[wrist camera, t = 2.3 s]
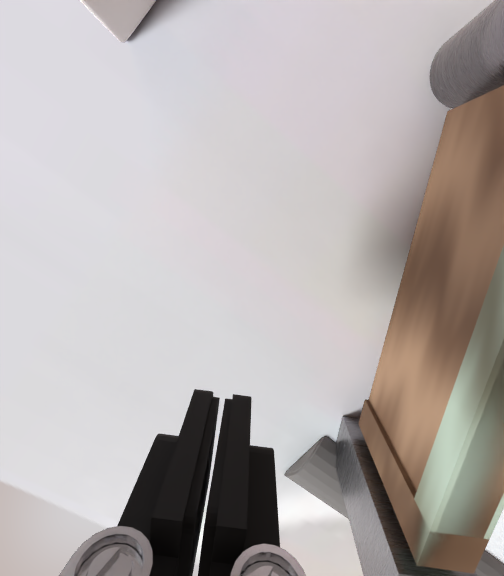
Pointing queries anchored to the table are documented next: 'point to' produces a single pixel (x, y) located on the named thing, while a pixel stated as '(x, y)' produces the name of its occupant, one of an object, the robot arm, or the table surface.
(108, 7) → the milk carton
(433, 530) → the wooden board
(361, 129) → the table surface
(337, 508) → the half round rod
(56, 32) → the table surface
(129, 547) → the robot arm
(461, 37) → the gate posts
